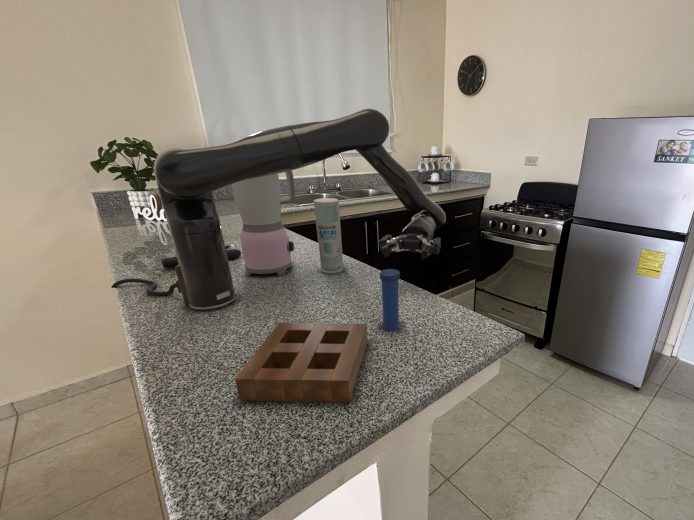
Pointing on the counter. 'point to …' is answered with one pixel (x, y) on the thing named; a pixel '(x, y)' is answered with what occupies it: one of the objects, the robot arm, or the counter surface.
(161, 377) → the counter surface
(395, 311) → the blue peg
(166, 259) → the door handle
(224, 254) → the robot arm
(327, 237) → the spray can
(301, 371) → the holder
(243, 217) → the blender
